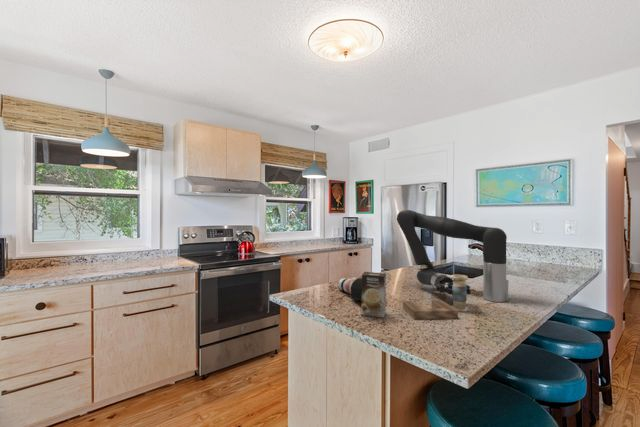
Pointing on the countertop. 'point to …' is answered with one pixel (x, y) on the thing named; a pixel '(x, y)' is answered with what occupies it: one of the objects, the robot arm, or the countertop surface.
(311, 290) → the countertop surface
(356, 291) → the black white tapered cylinder
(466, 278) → the cord spool
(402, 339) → the countertop surface
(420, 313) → the notched board
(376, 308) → the coffee box
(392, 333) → the countertop surface
